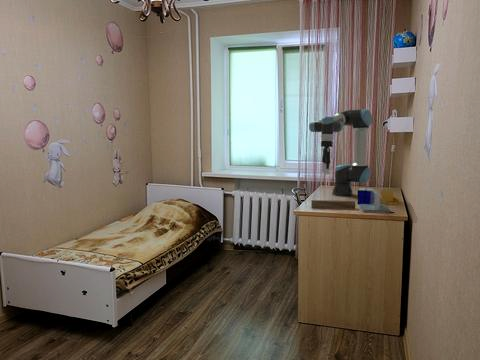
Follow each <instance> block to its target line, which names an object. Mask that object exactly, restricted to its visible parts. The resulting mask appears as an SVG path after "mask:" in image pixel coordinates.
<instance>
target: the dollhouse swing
mask: <svg viewBox="0 0 480 360" xmlns="http://www.w3.org/2000/svg"><path fill="white" fill-rule="evenodd" d="M380 204H384V205H386V206H393V205H395V204H396V205H400V204H401V202H400V198H398V197H395V196H394V191H393V189H381V190H380Z"/></svg>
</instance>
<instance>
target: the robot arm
mask: <svg viewBox="0 0 480 360" xmlns="http://www.w3.org/2000/svg"><path fill="white" fill-rule="evenodd" d="M372 122H373V116H372V112H371V111H370V110H368V109H347V110H344V111H341V112H337V113H336V114H335V115H332V116H323V117H322V119H320V120H314V121H310V122H309V125H308V127H309V131H310V132H311V133H321V135H319V137H320V140H321V141H320V147H322V148H323V149H322V156H321V158H322V159H321V162H322V163H321V164H322V165H321V173H323V174H325V175H330V169H331V148H333V144H334V142H333V141H334V133H340V132H342V130H343V129H344V126H351V127H352V130H354V137H353V138H354V142H353V143H354V144H353V145H354V147H353V148H354V149H353V160H354V161H353V163H352V164H350V163H349V164H339V165H336V166H335V170H334V174H335V175H334V187H333V189H332V195H333V196H340V197H341V196H342V197H348V196H349V197H350V196H353V195H354V194H353V193H354V192H353V187H352V185H351V183H360V184H362V183H363V184H364V183H367V182H368V181H369V180H370V178H371V175H372V169H371V168H370V167H369V164H368V163H367V140H368V139H367V135H368V130H369V129H370V126H371V125H372Z"/></svg>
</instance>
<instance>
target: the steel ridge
mask: <svg viewBox="0 0 480 360" xmlns="http://www.w3.org/2000/svg"><path fill="white" fill-rule="evenodd" d="M370 189H371V196H370V205H371V206H372V207H373V209H374V210H380V204H381V200H380V198H381V193H380V192H379V191H378V190H377V189H375V188H370Z"/></svg>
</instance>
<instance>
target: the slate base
mask: <svg viewBox="0 0 480 360" xmlns="http://www.w3.org/2000/svg"><path fill="white" fill-rule="evenodd" d="M359 207H360V209H361V210H362V212H363V213H387V214H389V213H391V209H390V208H389V207H388V205H385V204H382V203H380V210H374V209H373V207H372V206H371V205H370V204H359Z"/></svg>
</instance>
